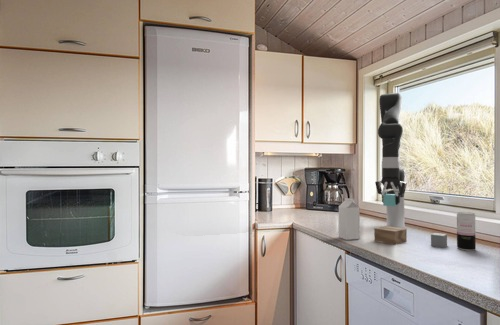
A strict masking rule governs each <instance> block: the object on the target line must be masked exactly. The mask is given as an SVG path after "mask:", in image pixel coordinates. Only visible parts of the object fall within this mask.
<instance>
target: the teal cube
mask: <svg viewBox="0 0 500 325" xmlns="http://www.w3.org/2000/svg"><path fill="white" fill-rule="evenodd" d="M382 204H383V206H385V207H387V206H398V205H396V195H395V194H384V195H383V202H382Z"/></svg>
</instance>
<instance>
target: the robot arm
mask: <svg viewBox="0 0 500 325" xmlns="http://www.w3.org/2000/svg"><path fill="white" fill-rule="evenodd" d="M378 99H379V100H378V101H379V102H378V103H379V111H380V113H379V114H380V120H381V123H380V125H379V126H378V129H377V135H378V137H379V138H380V140H381V142H382V149H381V150H382V153H381V156H382V157H381V158H382V160H381V180H378V181H375V188H376V191H377V194H378V195H380V196H381V202H382V203H383V195H384V194H395V195H396V205H398V206H386V226H390V227H397V228H404V229H405V193H406V189H407V188H406V187H407V183H408V182H406V181H405V177H406V176H405V170H404V168H401V167H400V157H399V156H400V148H401V139H402V136H403V132H404V127H403V125H402V124H400V121H399V120H400V119H399V118H400V115H401V114H400V113H401V111H402V107H403V97H402V95H401V93H399V92H394V93H393V92H392V93H384V94H380V96H379V98H378ZM382 186H383V187H382Z"/></svg>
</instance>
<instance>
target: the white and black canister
mask: <svg viewBox="0 0 500 325" xmlns="http://www.w3.org/2000/svg"><path fill="white" fill-rule="evenodd" d="M475 213H476V212H475ZM475 213H474V212H473V211H472V212H470V211H457V212H456V247H457V249H459V250H463V251H469V252H471V251H475V250H476V249H477V247H476V237H477V236H476V214H475Z"/></svg>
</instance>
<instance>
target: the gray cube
mask: <svg viewBox="0 0 500 325" xmlns="http://www.w3.org/2000/svg"><path fill="white" fill-rule="evenodd" d="M430 246H431V247H437V248H446V247H447V246H448V233H440V232H439V233H438V232H434V233H431V234H430Z"/></svg>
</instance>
